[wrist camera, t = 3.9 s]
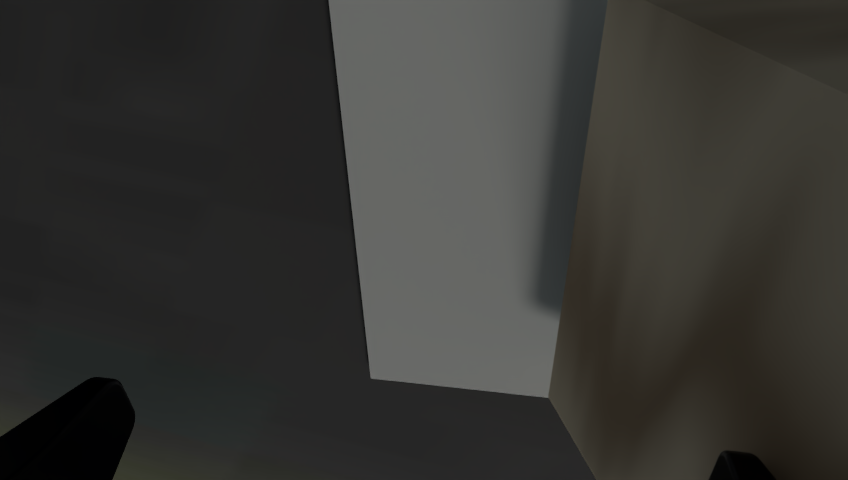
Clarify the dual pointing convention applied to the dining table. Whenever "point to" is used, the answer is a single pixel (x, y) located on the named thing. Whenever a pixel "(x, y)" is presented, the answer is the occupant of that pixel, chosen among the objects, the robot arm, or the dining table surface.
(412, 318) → the white flat tray
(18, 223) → the dining table surface
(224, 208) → the dining table surface
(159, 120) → the dining table surface
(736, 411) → the beech slab
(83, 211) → the dining table surface
